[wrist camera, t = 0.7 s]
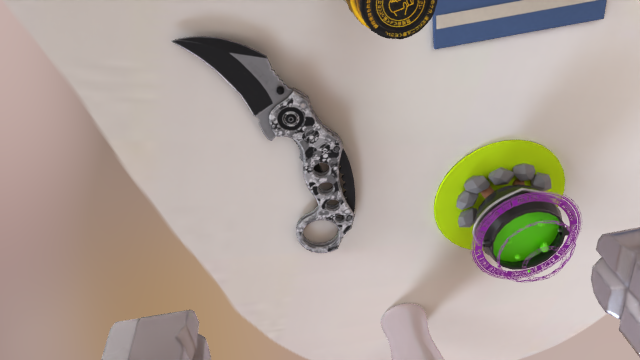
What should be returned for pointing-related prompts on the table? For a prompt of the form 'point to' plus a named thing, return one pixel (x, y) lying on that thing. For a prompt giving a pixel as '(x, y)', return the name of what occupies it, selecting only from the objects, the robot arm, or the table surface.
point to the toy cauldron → (507, 207)
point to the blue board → (506, 18)
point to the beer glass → (409, 333)
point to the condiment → (393, 15)
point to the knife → (286, 128)
